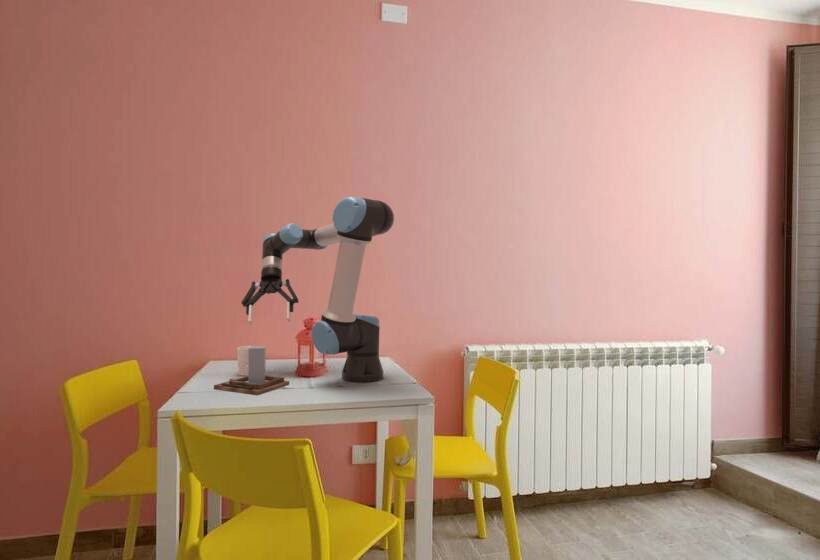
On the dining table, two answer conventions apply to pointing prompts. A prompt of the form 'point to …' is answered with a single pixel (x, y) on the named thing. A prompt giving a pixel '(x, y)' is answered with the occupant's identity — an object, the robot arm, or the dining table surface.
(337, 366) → the dining table surface
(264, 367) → the block
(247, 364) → the white cup
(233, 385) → the brown wooden frame
